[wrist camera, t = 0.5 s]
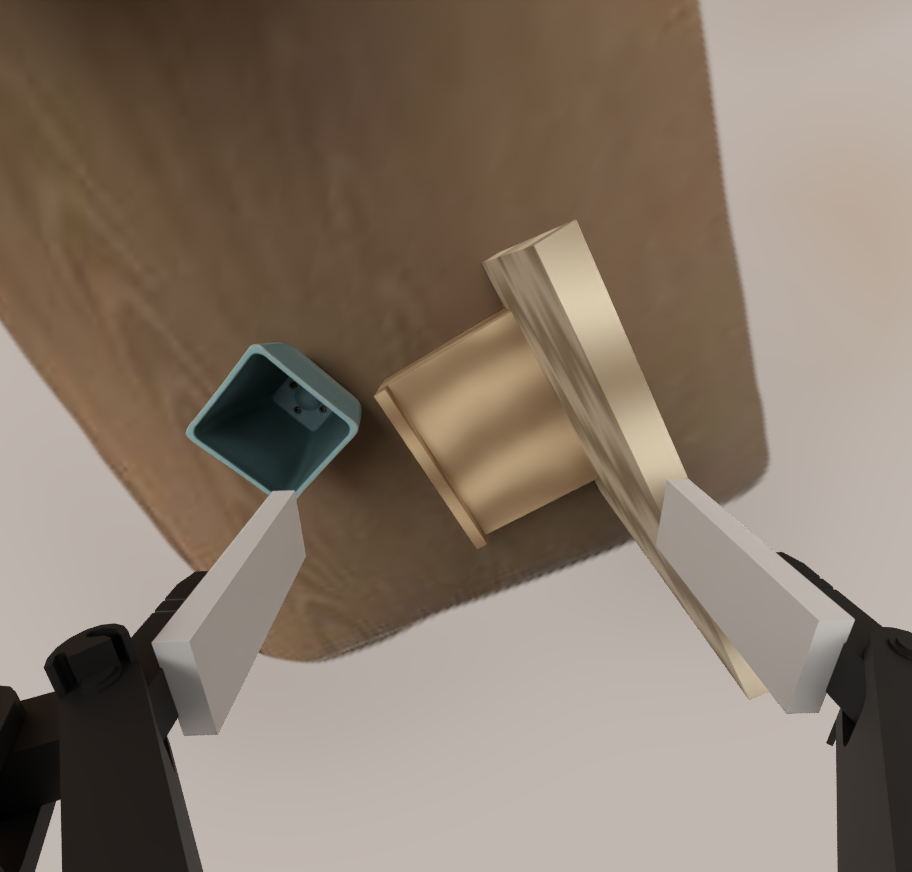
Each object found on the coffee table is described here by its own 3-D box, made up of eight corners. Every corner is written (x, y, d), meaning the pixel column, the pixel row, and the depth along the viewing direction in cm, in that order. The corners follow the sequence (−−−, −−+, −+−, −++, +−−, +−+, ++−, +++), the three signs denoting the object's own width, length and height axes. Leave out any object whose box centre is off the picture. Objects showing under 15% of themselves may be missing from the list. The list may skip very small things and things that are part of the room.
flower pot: (319, 461, 40) (286, 510, 32) (239, 399, 38) (180, 434, 30) (380, 394, 38) (361, 428, 30) (298, 325, 36) (253, 340, 28)
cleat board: (357, 339, 36) (242, 424, 16) (497, 252, 34) (575, 219, 14) (492, 545, 44) (534, 784, 23) (614, 484, 42) (778, 688, 21)
